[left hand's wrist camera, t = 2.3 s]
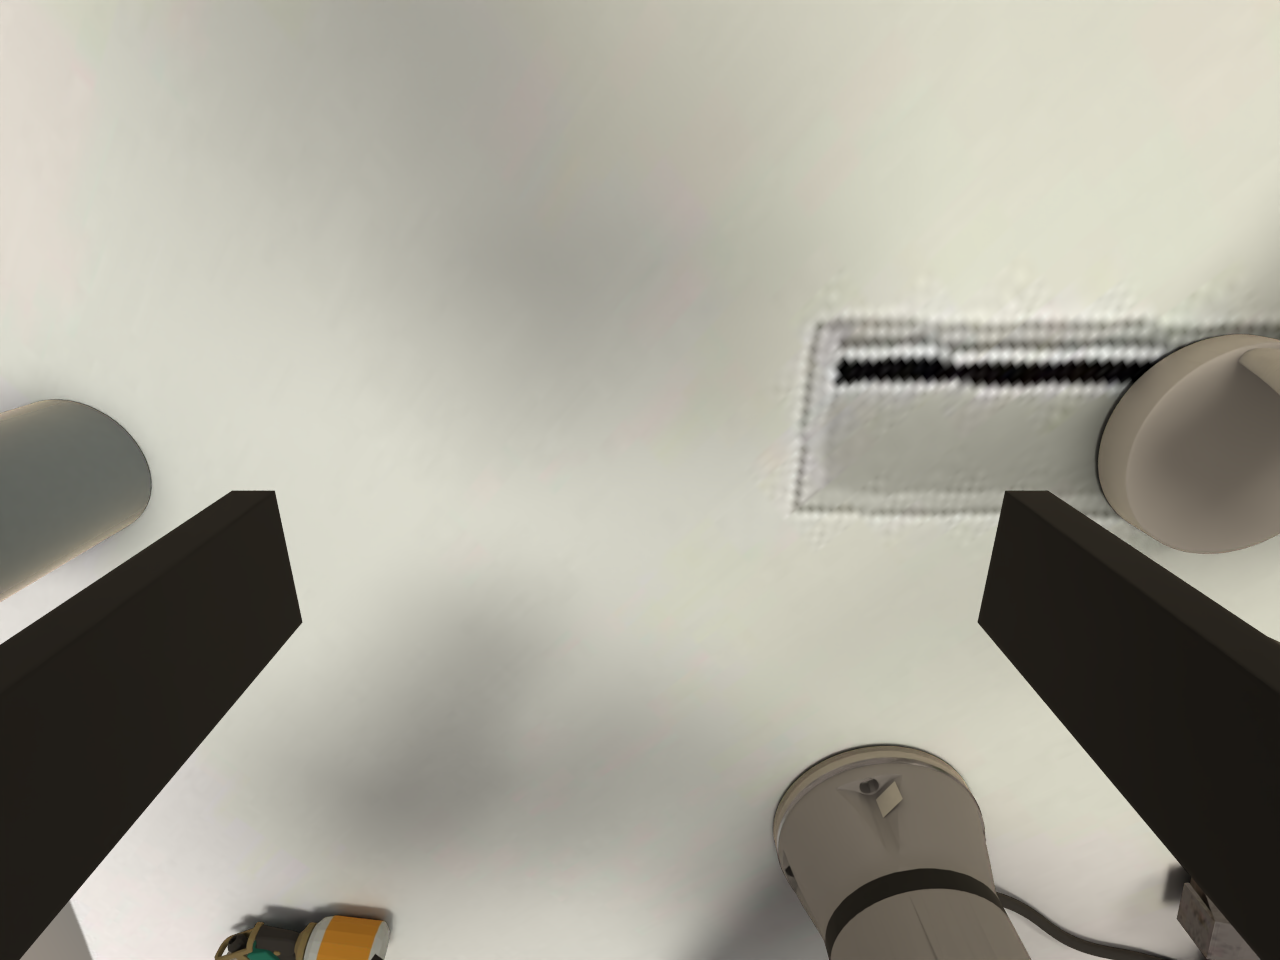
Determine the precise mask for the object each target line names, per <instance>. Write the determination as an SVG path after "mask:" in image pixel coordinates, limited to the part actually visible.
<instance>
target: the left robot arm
mask: <svg viewBox="0 0 1280 960" xmlns="http://www.w3.org/2000/svg"><path fill="white" fill-rule="evenodd" d="M301 623H302V618H301V613H300V609H299V604H298V599H297V594H296V590H295V585H294V580H293V575H292V571H291V566H290V561H289V556H288V551H287V547H286V542H285V537H284V532H283V528H282V523H281V518H280V513H279V509H278V504H277V499H276V494H275V491H231V492H229V493H228V494H226V495H225V496H223V497H222V498H220V499H219V500H217V501H216V502H214V503H213V504H211V505H210V506H208V507H207V508H205V509H204V510H202V511H201V512H199V513H198V514H196V515H195V516H193V517H192V518H190V519H189V520H187V521H186V522H184V523H183V524H181V525H180V526H178V527H177V528H175V529H174V530H172V531H171V532H169V533H168V534H166V535H165V536H163V537H162V538H160V539H159V540H157V541H156V542H154V543H153V544H151V545H150V546H148V547H147V548H145V549H144V550H142V551H141V552H139V553H138V554H136V555H135V556H133V557H132V558H130V559H129V560H127V561H126V562H124V563H123V564H121V565H120V566H118V567H117V568H115V569H114V570H112V571H111V572H109V573H108V574H106V575H105V576H103V577H102V578H100V579H99V580H97V581H96V582H94V583H93V584H91V585H90V586H88V587H87V588H85V589H84V590H82V591H81V592H79V593H78V594H76V595H75V596H73V597H71V598H70V599H68V600H67V601H65V602H64V603H62V604H61V605H59V606H58V607H56V608H55V609H53V610H52V611H50V612H49V613H47V614H46V615H44V616H43V617H41V618H40V619H38V620H37V621H35V622H34V623H32V624H31V625H29V626H28V627H26V628H25V629H23V630H22V631H20V632H19V633H17V634H16V635H14V636H13V637H11V638H10V639H8V640H7V641H5V642H4V643H2V644H1V645H0V960H20V958H21V957H22V956H23V955H24V954H25V952H26V951H27V950H28V949H29V948H30V946H31V945H32V944H33V943H34V942H35V940H36V939H37V938H38V937H39V936H40V935H41V933H42V932H43V931H44V930H45V929H46V927H47V926H48V925H49V924H50V923H51V921H52V920H53V919H54V918H55V917H56V915H57V914H58V913H59V912H60V911H61V909H62V908H63V907H64V906H65V905H66V904H67V902H68V901H69V900H70V899H71V898H72V896H73V895H74V894H75V893H76V892H77V890H78V889H79V888H80V887H81V886H82V884H83V883H84V882H85V881H86V880H87V879H88V877H89V876H90V875H91V874H92V873H93V871H94V870H95V869H96V868H97V867H98V865H99V864H100V863H101V862H102V861H103V859H104V858H105V857H106V856H107V855H108V853H109V852H110V851H111V850H112V849H113V848H114V846H115V845H116V844H117V843H118V842H119V840H120V839H121V838H122V837H123V836H124V834H125V833H126V832H127V831H128V830H129V828H130V827H131V826H132V825H133V824H134V822H135V821H136V820H137V819H138V818H139V817H140V815H141V814H142V813H143V812H144V811H145V809H146V808H147V807H148V806H149V805H150V803H151V802H152V801H153V800H154V799H155V797H156V796H157V795H158V794H159V793H160V791H161V790H162V789H163V788H164V787H165V785H166V784H167V783H168V782H169V781H170V780H171V778H172V777H173V776H174V775H175V774H176V772H177V771H178V770H179V769H180V768H181V766H182V765H183V764H184V763H185V762H186V760H187V759H188V758H189V757H190V756H191V754H192V753H193V752H194V751H195V750H196V749H197V747H198V746H199V745H200V744H201V743H202V741H203V740H204V739H205V738H206V737H207V735H208V734H209V733H210V732H211V731H212V729H213V728H214V727H215V726H216V725H217V723H218V722H219V721H220V720H221V719H222V718H223V716H224V715H225V714H226V713H227V712H228V710H229V709H230V708H231V707H232V706H233V704H234V703H235V702H236V701H237V700H238V698H239V697H240V696H241V695H242V694H243V692H244V691H245V690H246V689H247V688H248V687H249V685H250V684H251V683H252V682H253V681H254V679H255V678H256V677H257V676H258V675H259V673H260V672H261V671H262V670H263V669H264V667H265V666H266V665H267V664H268V663H269V661H270V660H271V659H272V658H273V657H274V656H275V654H276V653H277V652H278V651H279V650H280V648H281V647H282V646H283V645H284V644H285V642H286V641H287V640H288V639H289V638H290V636H291V635H292V634H293V633H294V632H295V630H296V629H297V628H298V627H299V626H300V625H301ZM978 623H979V625H980V626H981V627H982V628H983V629H984V630H985V632H986V633H987V634H988V635H989V636H990V638H991V639H992V640H993V641H994V642H995V644H996V645H997V646H998V647H999V648H1000V650H1001V651H1002V652H1003V653H1004V654H1005V656H1006V657H1007V658H1008V659H1009V660H1010V661H1011V663H1012V664H1013V665H1014V666H1015V667H1016V669H1017V670H1018V671H1019V672H1020V673H1021V675H1022V676H1023V677H1024V678H1025V679H1026V681H1027V682H1028V683H1029V684H1030V685H1031V687H1032V688H1033V689H1034V690H1035V691H1036V692H1037V694H1038V695H1039V696H1040V697H1041V698H1042V700H1043V701H1044V702H1045V703H1046V704H1047V706H1048V707H1049V708H1050V709H1051V710H1052V712H1053V713H1054V714H1055V715H1056V716H1057V718H1058V719H1059V720H1060V721H1061V722H1062V723H1063V725H1064V726H1065V727H1066V728H1067V729H1068V731H1069V732H1070V733H1071V734H1072V735H1073V737H1074V738H1075V739H1076V740H1077V741H1078V743H1079V744H1080V745H1081V746H1082V747H1083V749H1084V750H1085V751H1086V752H1087V753H1088V754H1089V756H1090V757H1091V758H1092V759H1093V760H1094V762H1095V763H1096V764H1097V765H1098V766H1099V768H1100V769H1101V770H1102V771H1103V772H1104V774H1105V775H1106V776H1107V777H1108V778H1109V780H1110V781H1111V782H1112V783H1113V784H1114V785H1115V787H1116V788H1117V789H1118V790H1119V791H1120V793H1121V794H1122V795H1123V796H1124V797H1125V799H1126V800H1127V801H1128V802H1129V803H1130V805H1131V806H1132V807H1133V808H1134V809H1135V811H1136V812H1137V813H1138V814H1139V815H1140V817H1141V818H1142V819H1143V820H1144V821H1145V822H1146V824H1147V825H1148V826H1149V827H1150V828H1151V830H1152V831H1153V832H1154V833H1155V834H1156V836H1157V837H1158V838H1159V839H1160V840H1161V842H1162V843H1163V844H1164V845H1165V846H1166V848H1167V849H1168V850H1169V851H1170V852H1171V853H1172V855H1173V856H1174V857H1175V858H1176V859H1177V861H1178V862H1179V863H1180V864H1181V865H1182V867H1183V868H1184V869H1185V870H1186V871H1187V873H1188V874H1189V875H1190V876H1191V877H1192V879H1193V880H1194V881H1195V882H1196V883H1197V884H1198V886H1199V887H1200V888H1201V889H1202V890H1203V892H1204V893H1205V894H1206V895H1207V896H1208V898H1209V899H1210V900H1211V901H1212V902H1213V904H1214V905H1215V906H1216V907H1217V908H1218V910H1219V911H1220V912H1221V913H1222V914H1223V915H1224V917H1225V918H1226V919H1227V920H1228V921H1229V923H1230V924H1231V925H1232V926H1233V927H1234V929H1235V930H1236V931H1237V932H1238V933H1239V935H1240V936H1241V937H1242V938H1243V939H1244V941H1245V942H1246V943H1247V944H1248V945H1249V946H1250V948H1251V949H1252V950H1253V951H1254V952H1255V954H1256V955H1257V956H1258V957H1259V958H1260V960H1280V642H1278V641H1276V640H1274V639H1272V638H1269V637H1267V636H1266V635H1264V634H1263V633H1261V632H1260V631H1258V630H1257V629H1255V628H1254V627H1252V626H1251V625H1249V624H1248V623H1246V622H1245V621H1243V620H1242V619H1240V618H1239V617H1237V616H1236V615H1234V614H1233V613H1231V612H1230V611H1228V610H1227V609H1225V608H1224V607H1222V606H1221V605H1219V604H1218V603H1216V602H1215V601H1213V600H1212V599H1210V598H1209V597H1207V596H1205V595H1204V594H1202V593H1201V592H1199V591H1198V590H1196V589H1195V588H1193V587H1192V586H1190V585H1189V584H1187V583H1186V582H1184V581H1183V580H1181V579H1180V578H1178V577H1177V576H1175V575H1174V574H1172V573H1171V572H1169V571H1168V570H1166V569H1165V568H1163V567H1162V566H1160V565H1159V564H1157V563H1156V562H1154V561H1153V560H1151V559H1150V558H1148V557H1147V556H1145V555H1144V554H1142V553H1141V552H1139V551H1138V550H1136V549H1135V548H1133V547H1132V546H1130V545H1129V544H1127V543H1126V542H1124V541H1123V540H1121V539H1120V538H1118V537H1117V536H1115V535H1114V534H1112V533H1111V532H1109V531H1108V530H1106V529H1105V528H1103V527H1102V526H1100V525H1099V524H1097V523H1096V522H1094V521H1093V520H1091V519H1090V518H1088V517H1087V516H1085V515H1084V514H1082V513H1081V512H1079V511H1078V510H1076V509H1075V508H1073V507H1072V506H1070V505H1069V504H1067V503H1066V502H1064V501H1063V500H1061V499H1060V498H1058V497H1057V496H1055V495H1054V494H1052V493H1051V492H1049V491H1005V494H1004V499H1003V504H1002V509H1001V513H1000V518H999V523H998V528H997V532H996V537H995V542H994V547H993V551H992V556H991V561H990V566H989V570H988V575H987V580H986V585H985V590H984V594H983V599H982V604H981V609H980V613H979V618H978Z"/></svg>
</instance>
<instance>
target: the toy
mask: <svg viewBox="0 0 1280 960" xmlns="http://www.w3.org/2000/svg"><path fill="white" fill-rule="evenodd" d="M1177 920H1178V921H1179V922H1180V924H1181V925H1182V926H1183V928H1184V929H1185V930H1186V932H1187V933H1188V934H1189V936H1190V937H1191V939H1192V940H1193V941H1194V943H1195V944H1196V945H1197V947H1198V948H1199V949H1200V951H1201V952H1202V953H1203V955H1204V956H1205V957H1206V959H1210V960H1260V958H1259V957H1258V956H1257V955H1256V954H1255V952H1254V951H1253V950H1252V949H1251V948H1250V946H1249V945H1248V944H1247V943H1246V942H1245V941H1244V939H1243V938H1242V937H1241V936H1240V935H1239V933H1238V932H1237V931H1236V930H1235V929H1234V927H1233V926H1232V925H1231V924H1230V923H1229V921H1228V920H1227V919H1226V918H1225V917H1224V915H1223V914H1222V913H1221V912H1220V911H1219V910H1218V908H1217V907H1216V906H1215V905H1214V904H1213V902H1212V901H1211V900H1210V899H1209V898H1208V896H1207V895H1206V894H1205V893H1204V892H1203V890H1202V889H1201V888H1200V887H1199V886H1198V884H1197V883H1196V882H1195V881H1194V880H1193V879H1192V877H1191V881H1190V883H1184V887H1183V892H1182V896H1181V901H1180V906H1179V910H1178V915H1177Z"/></svg>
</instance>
